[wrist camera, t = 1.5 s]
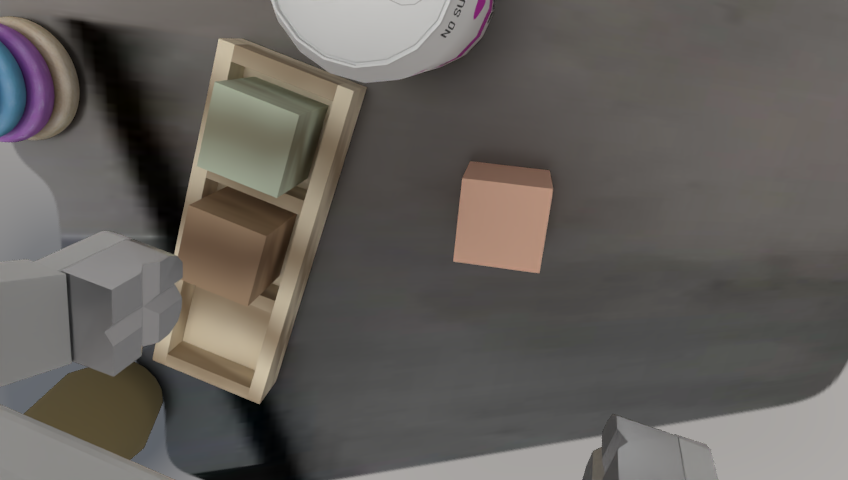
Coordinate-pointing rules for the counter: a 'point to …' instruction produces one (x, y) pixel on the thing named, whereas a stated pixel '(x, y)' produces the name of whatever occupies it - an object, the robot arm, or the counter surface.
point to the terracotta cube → (503, 216)
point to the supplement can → (383, 34)
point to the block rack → (255, 212)
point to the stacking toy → (34, 82)
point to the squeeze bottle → (103, 408)
